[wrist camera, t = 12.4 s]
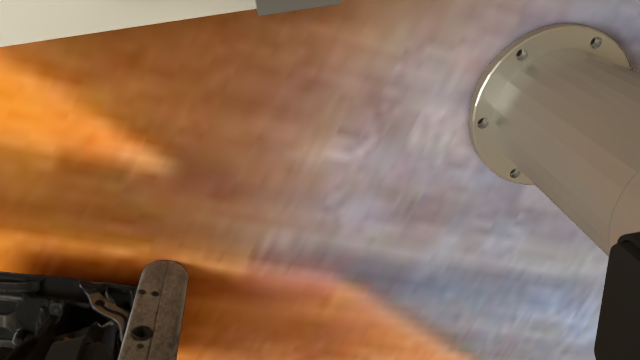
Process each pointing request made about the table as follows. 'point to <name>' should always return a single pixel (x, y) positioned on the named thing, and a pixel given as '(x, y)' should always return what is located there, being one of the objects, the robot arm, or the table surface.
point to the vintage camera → (94, 313)
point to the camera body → (118, 14)
